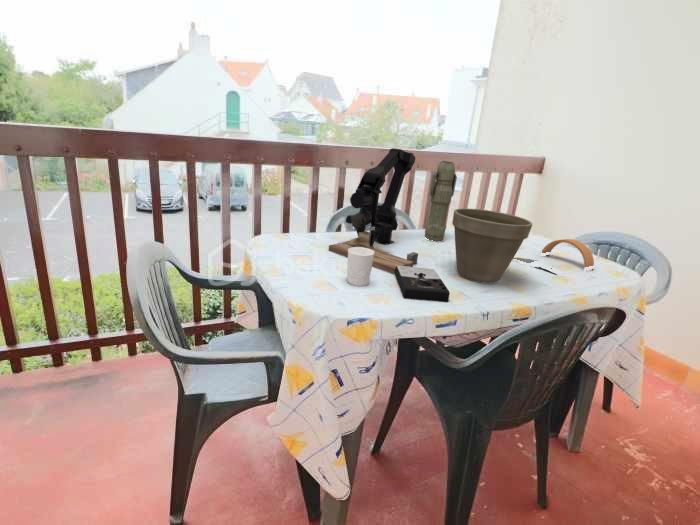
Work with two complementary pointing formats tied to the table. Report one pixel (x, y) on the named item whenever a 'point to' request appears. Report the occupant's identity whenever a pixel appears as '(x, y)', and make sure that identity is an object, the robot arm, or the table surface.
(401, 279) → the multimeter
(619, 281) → the table surface
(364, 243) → the marking gauge
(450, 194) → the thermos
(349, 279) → the white cup
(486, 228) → the plant pot
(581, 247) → the arch
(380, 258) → the walnut board
